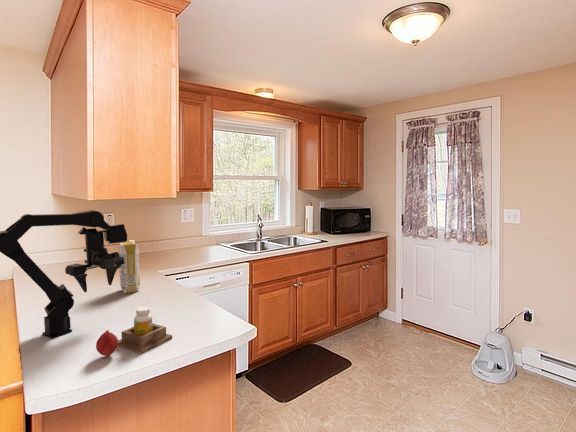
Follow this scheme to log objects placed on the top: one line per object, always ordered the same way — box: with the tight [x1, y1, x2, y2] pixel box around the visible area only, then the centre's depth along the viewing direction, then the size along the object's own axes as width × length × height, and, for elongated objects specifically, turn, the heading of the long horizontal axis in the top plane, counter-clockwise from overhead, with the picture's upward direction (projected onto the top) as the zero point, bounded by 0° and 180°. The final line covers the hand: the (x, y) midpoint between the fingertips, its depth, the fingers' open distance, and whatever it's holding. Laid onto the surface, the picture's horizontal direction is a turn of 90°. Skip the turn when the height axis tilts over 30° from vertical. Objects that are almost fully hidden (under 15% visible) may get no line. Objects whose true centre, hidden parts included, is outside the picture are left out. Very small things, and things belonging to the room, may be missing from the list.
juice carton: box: [118, 239, 141, 294], centre depth 167 cm, size 9×8×24 cm
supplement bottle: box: [133, 306, 153, 335], centre depth 112 cm, size 5×5×10 cm
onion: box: [95, 329, 119, 358], centre depth 103 cm, size 6×6×8 cm
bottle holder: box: [118, 322, 173, 354], centre depth 113 cm, size 12×12×4 cm
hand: (98, 288), depth 126 cm, fingers open, 9 cm apart
